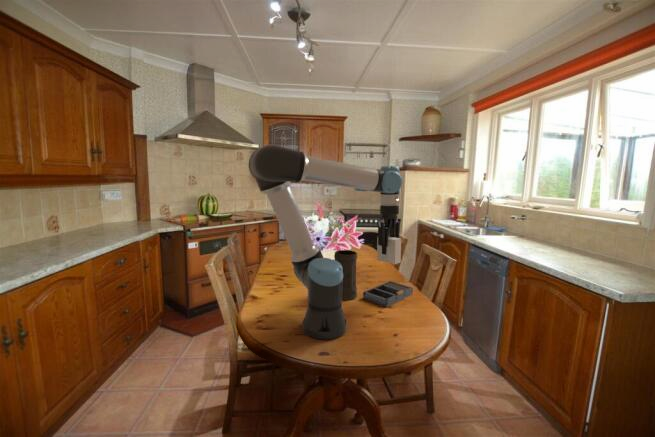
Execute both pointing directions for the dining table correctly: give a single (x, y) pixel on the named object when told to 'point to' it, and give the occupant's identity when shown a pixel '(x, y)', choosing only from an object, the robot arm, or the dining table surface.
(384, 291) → the dark grey compartment tray
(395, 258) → the white rectangular block
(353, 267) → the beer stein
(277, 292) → the dining table surface
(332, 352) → the dining table surface
